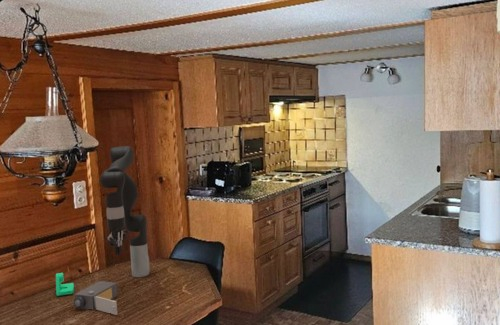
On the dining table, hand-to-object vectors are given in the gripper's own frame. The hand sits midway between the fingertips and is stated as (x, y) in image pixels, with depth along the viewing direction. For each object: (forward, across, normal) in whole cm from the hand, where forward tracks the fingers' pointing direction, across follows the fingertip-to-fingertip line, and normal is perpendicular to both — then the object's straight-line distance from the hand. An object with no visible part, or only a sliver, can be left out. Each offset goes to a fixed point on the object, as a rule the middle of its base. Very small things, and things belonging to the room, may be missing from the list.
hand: (118, 254), depth 222 cm
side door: (+25, +7, -5) cm, 26 cm away
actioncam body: (+26, -2, -17) cm, 31 cm away
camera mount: (+26, -9, -41) cm, 49 cm away
